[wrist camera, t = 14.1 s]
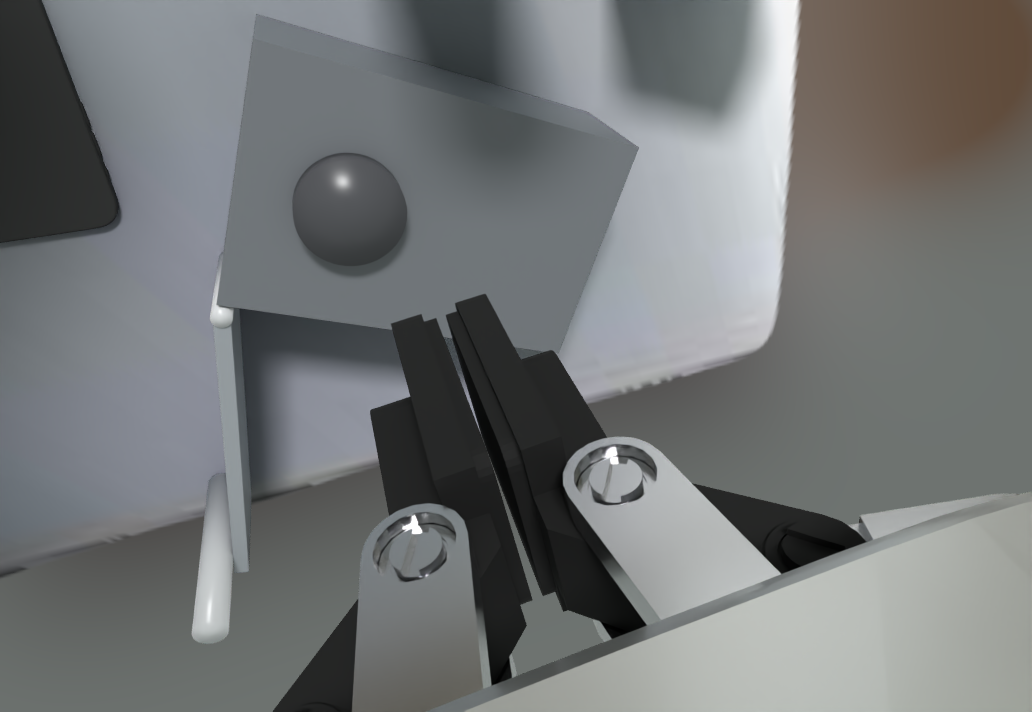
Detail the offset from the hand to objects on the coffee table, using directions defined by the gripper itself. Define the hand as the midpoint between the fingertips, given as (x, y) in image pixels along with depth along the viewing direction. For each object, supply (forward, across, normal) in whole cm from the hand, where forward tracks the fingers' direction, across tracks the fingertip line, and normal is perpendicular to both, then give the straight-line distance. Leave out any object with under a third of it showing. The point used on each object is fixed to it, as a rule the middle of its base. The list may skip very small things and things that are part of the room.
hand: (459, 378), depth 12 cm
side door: (+29, +13, +16) cm, 35 cm away
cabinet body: (+29, -2, +7) cm, 30 cm away
